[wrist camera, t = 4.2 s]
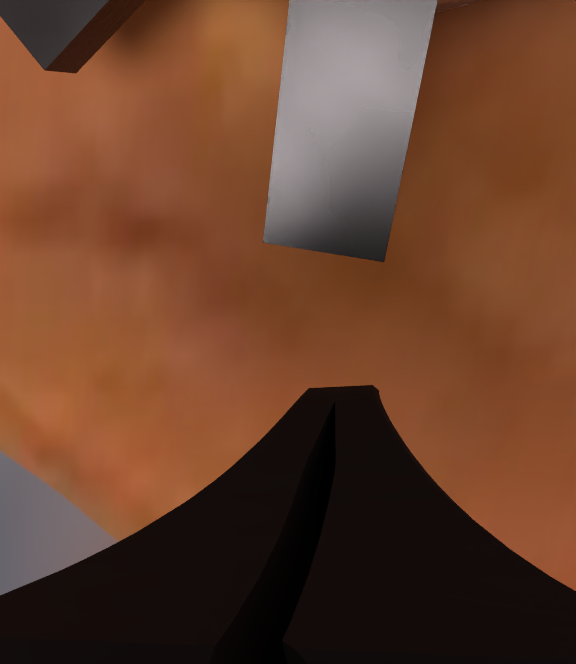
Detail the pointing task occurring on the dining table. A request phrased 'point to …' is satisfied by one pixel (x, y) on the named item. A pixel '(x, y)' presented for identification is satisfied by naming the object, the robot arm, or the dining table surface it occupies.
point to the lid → (345, 122)
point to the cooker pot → (79, 27)
